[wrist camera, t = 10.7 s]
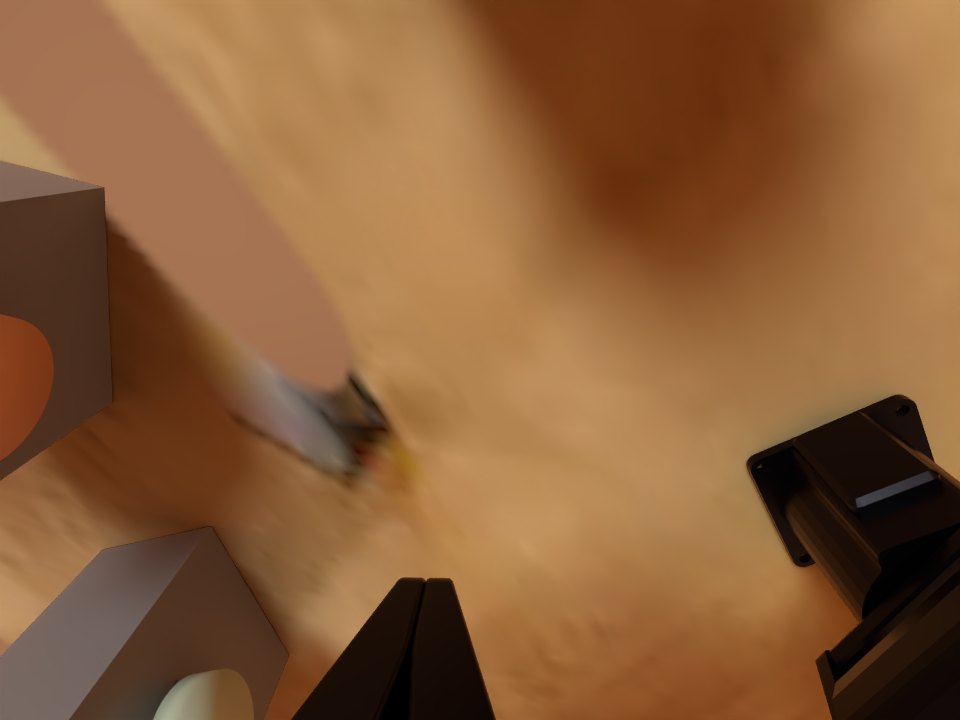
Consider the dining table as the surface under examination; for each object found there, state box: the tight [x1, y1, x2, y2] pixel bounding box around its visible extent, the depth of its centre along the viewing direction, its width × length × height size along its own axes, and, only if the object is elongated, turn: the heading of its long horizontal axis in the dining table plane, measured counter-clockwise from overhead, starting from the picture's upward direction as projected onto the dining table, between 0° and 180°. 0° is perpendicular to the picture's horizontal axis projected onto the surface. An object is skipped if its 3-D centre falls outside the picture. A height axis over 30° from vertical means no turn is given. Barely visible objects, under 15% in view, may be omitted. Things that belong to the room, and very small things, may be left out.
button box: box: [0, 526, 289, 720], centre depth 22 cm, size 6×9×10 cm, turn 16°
